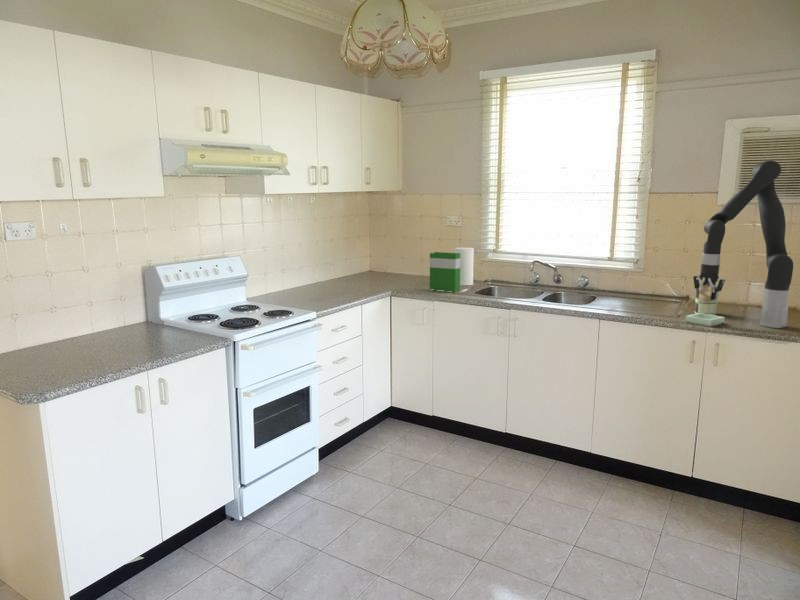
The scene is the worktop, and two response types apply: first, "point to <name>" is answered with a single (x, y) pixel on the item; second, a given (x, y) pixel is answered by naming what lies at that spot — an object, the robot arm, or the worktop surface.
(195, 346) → the worktop surface
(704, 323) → the tray
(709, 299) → the maple block
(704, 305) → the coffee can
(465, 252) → the cylinder
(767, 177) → the robot arm
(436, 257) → the green cereal box
